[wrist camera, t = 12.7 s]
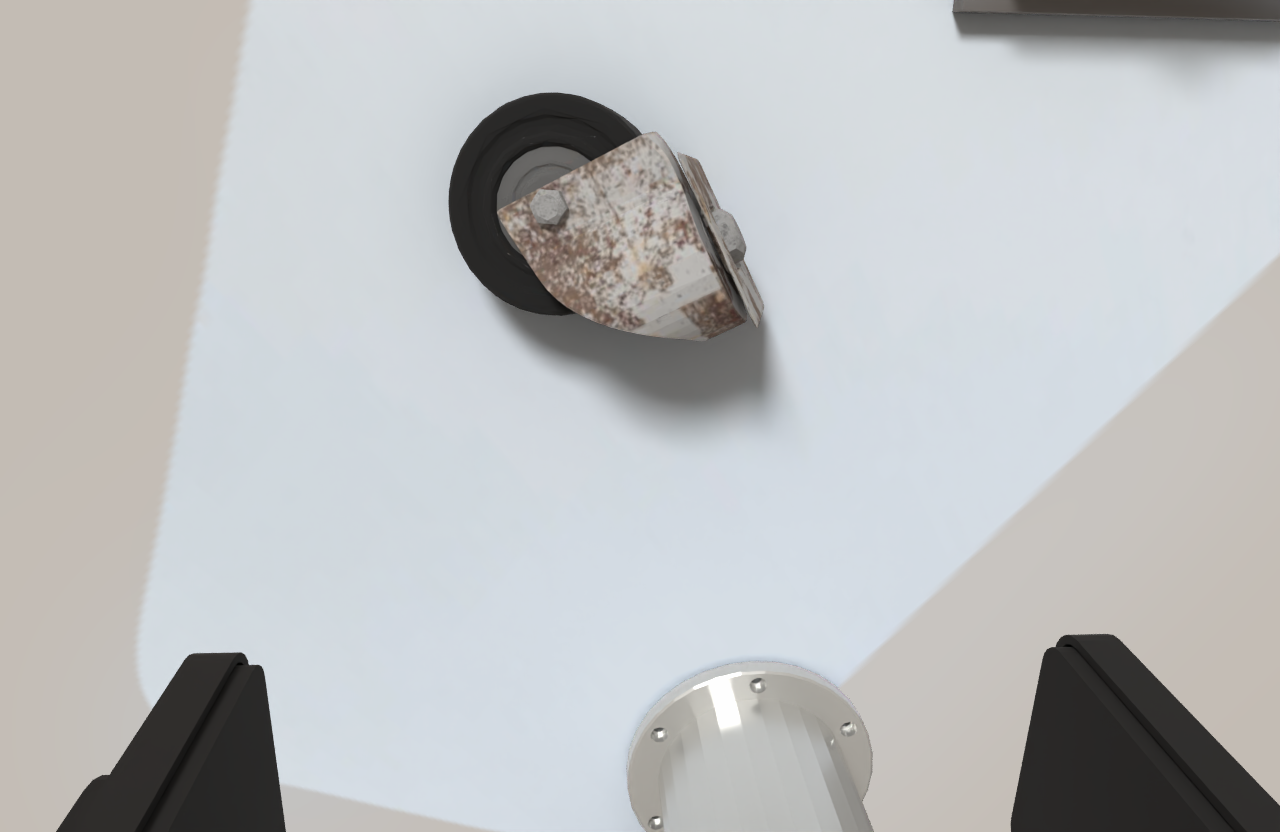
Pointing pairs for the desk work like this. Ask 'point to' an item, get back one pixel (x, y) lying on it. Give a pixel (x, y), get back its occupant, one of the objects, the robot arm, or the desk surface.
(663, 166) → the caster wheel
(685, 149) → the desk surface
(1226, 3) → the frame
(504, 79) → the desk surface
